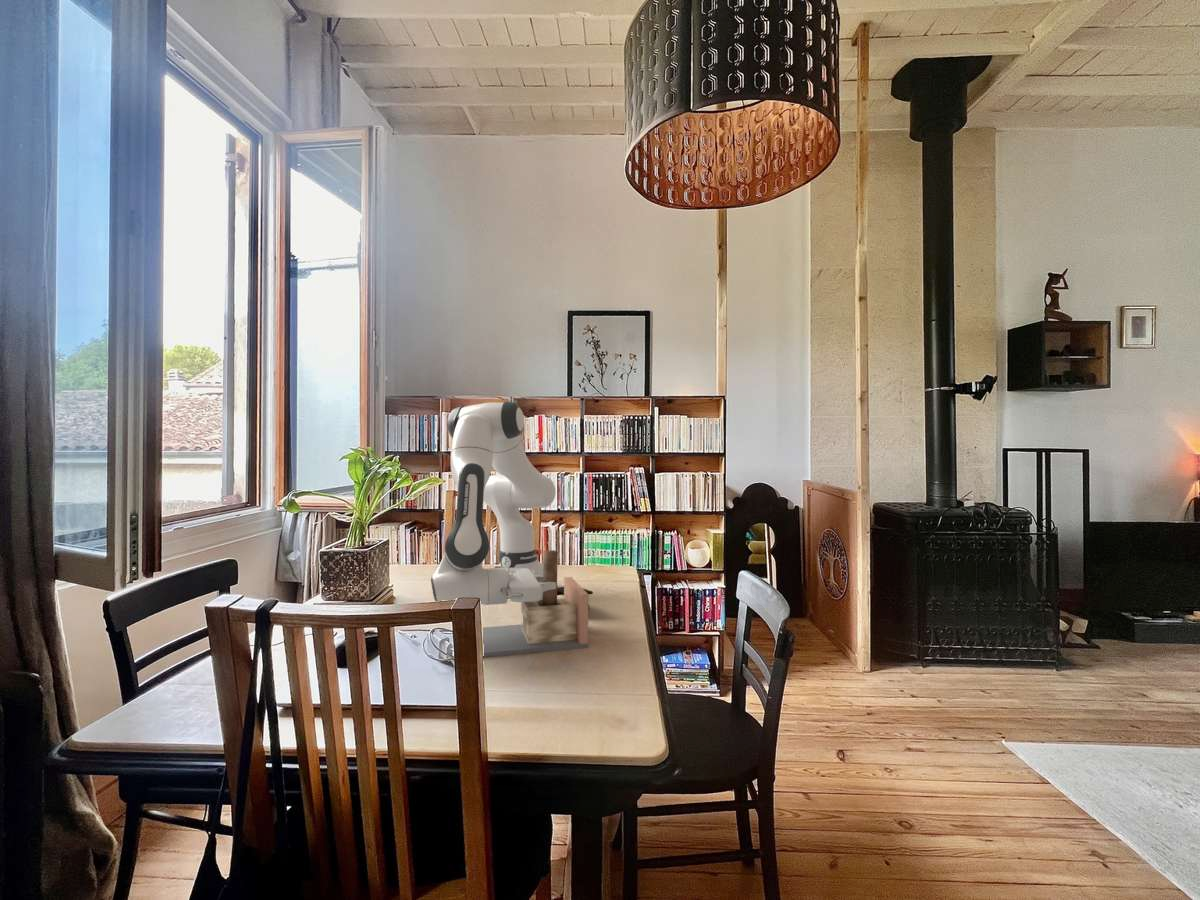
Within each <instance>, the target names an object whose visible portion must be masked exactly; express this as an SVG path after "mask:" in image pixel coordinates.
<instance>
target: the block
mask: <svg viewBox="0 0 1200 900" xmlns="http://www.w3.org/2000/svg"><path fill="white" fill-rule="evenodd" d="M520 604H521V607H520V608H521V611H520V612H521V616H520V617H521V619H520V620H521V622H520V625H521V629H522V631H523V633H524V635H525V637H526V640H527V642H528V644H533V643H544V642H555V641H566V640H576V637H577V607H576V606H575V605H574V604H573V602H572V601H571V600H570V599H569V598H568V596H567V595H557V605H552V606H543V595H542V600H540V601H537V602H520Z"/></svg>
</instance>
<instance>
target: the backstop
mask: <svg viewBox="0 0 1200 900" xmlns="http://www.w3.org/2000/svg"><path fill="white" fill-rule="evenodd" d="M563 579H564V580H563V582H564V583H563V587H564V595H567V596H568V598H569V599H570V600H571V601H572V602H573V604H574V605H575V606H576V607H577V637H576V640H566V641H555V642H544V643H533V644H528V642H527V640H526V637H525V635H524V633H523V631H522V629H521V624H511V625H500V626H499V625H498V626H485V627H482V628H483V644H484V657H483V658H488V657H487V656H491V657H501V656H509V655H510V656H511V655H519V654H520V655H521V654H522V655H523V654H531V653H532V654H533V653H539V652H540V653H541V652H551V651H560V650H561V651H563V650H572V649H581V648H582V649H583V648H589V612H588V604H589V595H588V593H587V592H586V591H585V590H584V589H585V588H584V587H582V586H581V585H580V584H579V583H578V582H577V581H576V580H575V579H574V578H573V577H572V576H566V577H564V578H563Z"/></svg>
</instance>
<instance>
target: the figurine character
mask: <svg viewBox="0 0 1200 900" xmlns="http://www.w3.org/2000/svg"><path fill="white" fill-rule="evenodd" d="M583 589H584V590H585V591H586V592H587V593H588V596H589V595H592V594H594V593H593V591H592V590H588V589H586V588H583ZM557 595H564V586H562V587H557ZM589 612H590V604H589V603H588V613H589Z"/></svg>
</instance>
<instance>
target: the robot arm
mask: <svg viewBox="0 0 1200 900" xmlns="http://www.w3.org/2000/svg"><path fill="white" fill-rule="evenodd" d="M524 427H525V415H524V412H523V410H522V407H521V406H520V405H519V404H518V403H516V402H512V401H504V402H482V403H478V404H477V403H476V404H472V405H471V404H470V405H466V406H464V405H461V406H458V407H455V408H453V409H452V410H451V412H450V413H449V414H448V417H447V431H448V433H449V435H450V437H451V438H452V441H451V448H450V449H451V450H450V463H449V464H450V473H451V478H452V480H453V481H454V483H455V485H456V489H457V494H456V495H457V499H456V508H455V509H456V512H455V520H454V524H453V527H452V528H451V529H450V531H449V533H448V534H447V537H446V540H445V545H444V553H443V555H442V559H441V561H440V563H439V564H438V566H437V568H436V570H435V572H434V573H433V574H432V575H431V576H430V577H431V578H430V583H431V590H432V594H433V599H434V601H435V602H436V601H442V600H454V599H456V598H459V597H478V598H480V601H481V604H480V605H483V606H492V605H493V606H494V605H505V604H507V603H508V599H509V600H510V602H513V603H514V602H515V603H521V602H537V601H540V600H542V596H543V592H544V591H547V590H553V589H556V583H555V582H554V581H548V582H545V583H543V563H541V561H539V560H538V556H541V555H542V552H543V551H542V549H541V548H535V528H534V527H535V526H533V524H532V523H531V522H530V521H529V520H528V519H526V518H525V517H523V515H522V514H521V512H520V509H531V510H536V509H543V508H548V507H550V506H551V504H552V503H553V502H554V501H555V499H556V493H557V492H556V486H555V483H554V482H553V480H552V479H551V478H550V477H548V476H546V475H544V474H543V473H541V472H540V470H538V469H537V468H536V467H535V466H534V465H533V464H532V463H531V461H530V459H529V458H528V456H527V454H526V450H525V449H524V445H523V442H522V439H521V433H523V430H524ZM492 469H493V470H494V471H495V472H496V473H497V474H494V475H492V474H491V473H492ZM484 504H486V505H487V506H488V508H489V509H491V511H492V512H493V514H494V515H495V518H496V520H497V523H498V526H499V528H498V529H499V541H500V543H499V544H500V549H499V551H498V562H499V564H498V565H495V566H494V567H493V568H484V567H483V562H484V560H486V558H487V557H488V553H489V550H490V539H489V537H488V534H487V531H486V529H485V526H484V523H483V518H484V517H483V515H484V513H483V512H484Z"/></svg>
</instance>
